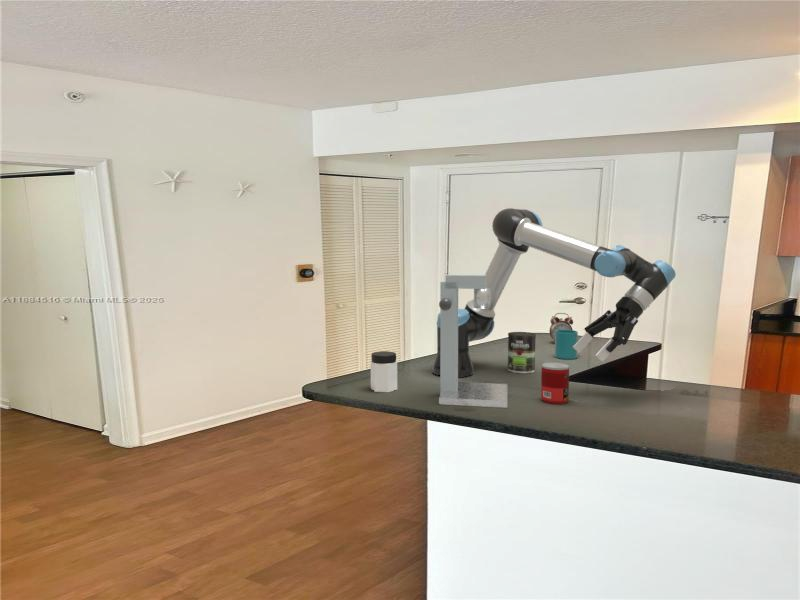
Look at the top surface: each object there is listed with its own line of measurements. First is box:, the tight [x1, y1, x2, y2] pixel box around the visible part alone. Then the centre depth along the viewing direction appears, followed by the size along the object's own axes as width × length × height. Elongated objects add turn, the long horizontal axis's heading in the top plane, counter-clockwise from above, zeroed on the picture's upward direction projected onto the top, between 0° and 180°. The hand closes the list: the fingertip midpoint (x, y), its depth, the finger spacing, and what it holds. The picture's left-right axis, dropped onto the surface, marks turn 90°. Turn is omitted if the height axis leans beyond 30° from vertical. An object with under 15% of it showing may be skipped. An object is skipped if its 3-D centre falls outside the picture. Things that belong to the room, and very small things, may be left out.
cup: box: [554, 329, 579, 360], centre depth 228 cm, size 9×12×11 cm
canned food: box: [540, 362, 570, 405], centre depth 163 cm, size 8×8×11 cm
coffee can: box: [507, 331, 537, 374], centre depth 204 cm, size 10×10×14 cm
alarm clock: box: [548, 312, 574, 343], centre depth 260 cm, size 11×5×15 cm, turn 81°
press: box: [438, 274, 509, 409], centre depth 165 cm, size 23×20×38 cm
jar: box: [370, 350, 398, 393], centre depth 177 cm, size 9×8×12 cm
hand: (586, 354), depth 164 cm, fingers open, 13 cm apart
